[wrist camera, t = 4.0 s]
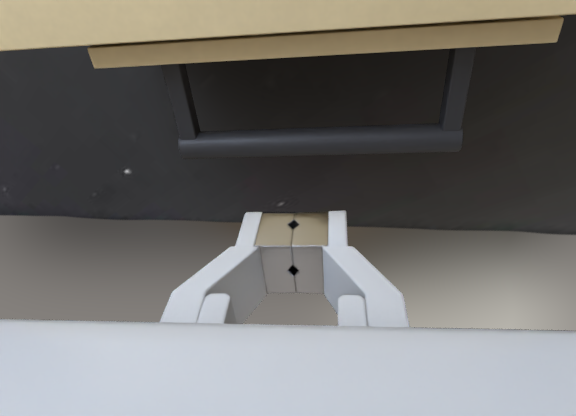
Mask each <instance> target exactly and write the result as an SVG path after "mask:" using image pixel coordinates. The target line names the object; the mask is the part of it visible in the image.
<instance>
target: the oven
mask: <svg viewBox="0 0 576 416" xmlns="http://www.w3.org/2000/svg"><path fill="white" fill-rule="evenodd" d="M573 14H576V0H0V51H9V50H25V49H41V48H56V47H72V46H88V45H103V44H119V43H135V42H150V41H166V40H182V39H197V38H213V37H229V36H244V35H260V34H276V33H291V32H307V31H323V30H338V29H354V28H370V27H385V26H401V25H417V24H432V23H448V22H464V21H479V20H495V19H511V18H526V17H542V16H558V15H573Z"/></svg>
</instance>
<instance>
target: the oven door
mask: <svg viewBox="0 0 576 416" xmlns="http://www.w3.org/2000/svg"><path fill="white" fill-rule="evenodd" d="M563 20H564V18H562V17H560V16H542V17H526V18H511V19H495V20H479V21H464V22H448V23H432V24H417V25H401V26H385V27H370V28H354V29H338V30H323V31H307V32H291V33H276V34H260V35H244V36H229V37H213V38H197V39H182V40H166V41H150V42H135V43H119V44H103V45H92V46H91V47H89V48H88V52H89V55H90V57H91V60H92V63H93V66H94V68H113V67H131V66H148V65H161V67H162V71H163V75H164V79H165V82H166V86H167V90H168V94H169V98H170V102H171V105H172V109H173V113H174V117H175V121H176V125H177V128H178V132H179V151H180V154H181V156H182V158H183V159H204V158H241V157H278V156H316V155H353V154H390V153H427V152H458V151H460V149H461V147H462V143H463V128H462V121H463V116H464V111H465V106H466V100H467V95H468V90H469V84H470V79H471V74H472V69H473V63H474V58H475V53H476V48H477V47H486V46H503V45H521V44H539V43H555V42H557V40H558V37H559V34H560V30H561V27H562V24H563ZM432 49H450V53H449V59H448V66H447V72H446V79H445V85H444V92H443V99H442V105H441V112H440V118H439V123H433V124H405V125H376V126H348V127H319V128H291V129H262V130H234V131H205V132H200V128H199V124H198V119H197V115H196V110H195V106H194V102H193V97H192V93H191V88H190V84H189V79H188V75H187V71H186V66H185V63H202V62H219V61H237V60H255V59H273V58H290V57H308V56H326V55H344V54H361V53H379V52H397V51H415V50H432Z"/></svg>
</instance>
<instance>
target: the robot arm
mask: <svg viewBox="0 0 576 416" xmlns="http://www.w3.org/2000/svg"><path fill="white" fill-rule="evenodd" d="M268 293H306V294H309V293H310V294H324V295H325V297H326V298H327V300H328V301H329V303H330V304H331V306H332V307H333V309H334V310H335V312H336V313H337V315H338V326H325V325H323V326H322V325H273V324H270V325H269V324H243V323H244V322H245V320H246V319H247V318H248V317H249V316H250V315H251V313H252V312H253V311H254V310H255V309H256V307H257V306H258V305H259V304H260V303H261V302H262V300H263V299H264V298H265V297H266V296H267V294H268ZM0 416H576V331H568V330H520V329H519V330H518V329H471V328H468V329H467V328H415V327H414V328H413V327H410V326H409V321H408V316H407V310H406V305H405V300H404V295H403V294H402V293H401V292H400V291H399V290H398V289H397V288H396V287H395V286H394V285H393V284H392V283H391V282H390V281H389V280H388V279H387V278H386V277H385V276H384V275H383V274H381V273H380V272H379V271H378V270H377V269H376V268H375V267H374V266H373V265H372V264H371V263H370V262H369V261H368V260H367V259H366V258H365V257H364V256H363V255H362V254H361V253H360V252H358V251H357V250H356V249H355V248H354V247H352V246H348V233H347V214H346V211H329V216H328V212H246V214H245V215H244V218H243V222H242V225H241V228H240V232H239V235H238V239H237V242H236V245H235V247H229V248H228V249H227V250H226V251H224V252H223V253H222V254H220V255H219V256H218V257H216V258H215V259H214V260H213V261H211V262H210V263H209V264H207V265H206V266H205V267H204V268H202V269H201V270H200V271H198V272H197V273H196V274H194V275H193V276H192V277H191V278H189V279H188V280H187V281H186V282H184V283H183V284H182V285H180V286H179V287H178V288H176V289H175V290H174V291H173V292H172V294H171V296H170V298H169V301H168V303H167V305H166V308H165V310H164V313H163V315H162V317H161V320H160V322H124V321H77V320H28V319H27V320H26V319H0Z"/></svg>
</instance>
